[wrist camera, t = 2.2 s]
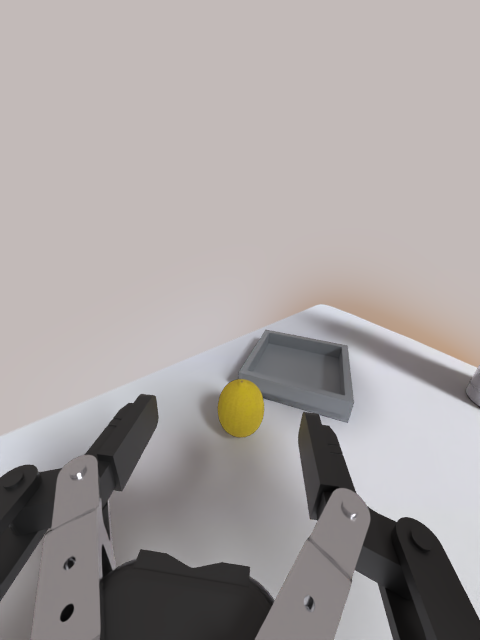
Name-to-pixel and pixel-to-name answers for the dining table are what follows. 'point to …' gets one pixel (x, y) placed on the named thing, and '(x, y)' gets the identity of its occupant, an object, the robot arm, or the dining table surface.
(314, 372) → the tray
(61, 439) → the dining table surface
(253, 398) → the lemon
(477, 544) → the dining table surface
